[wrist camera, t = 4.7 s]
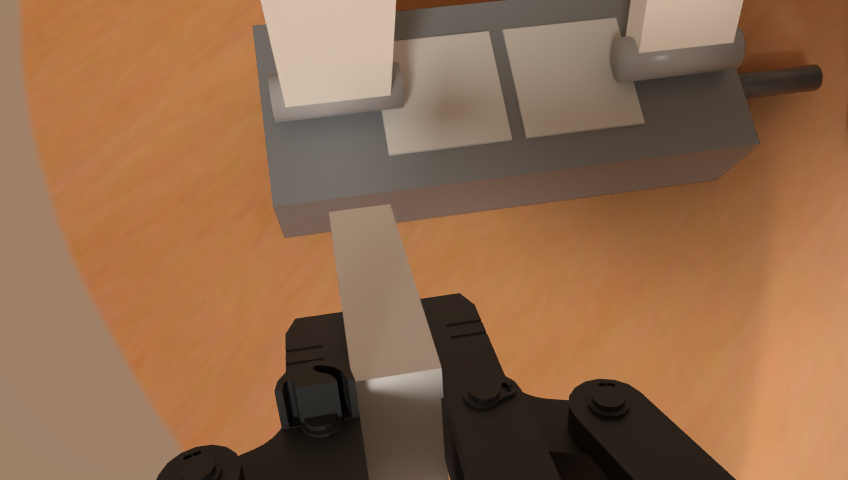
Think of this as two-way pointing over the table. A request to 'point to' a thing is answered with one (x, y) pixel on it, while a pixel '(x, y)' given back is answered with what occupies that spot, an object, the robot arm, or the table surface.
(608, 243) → the table surface
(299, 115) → the orange-capped paddle
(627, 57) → the grey-capped paddle
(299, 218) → the power strip
